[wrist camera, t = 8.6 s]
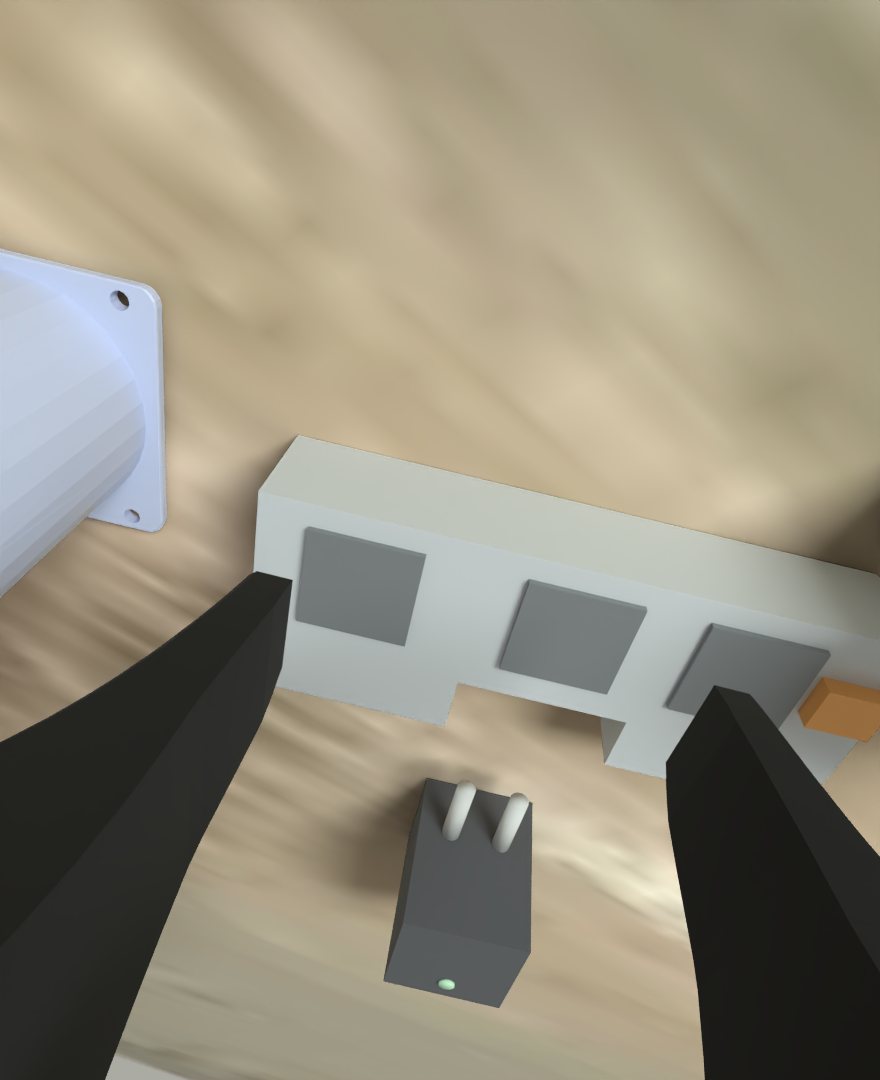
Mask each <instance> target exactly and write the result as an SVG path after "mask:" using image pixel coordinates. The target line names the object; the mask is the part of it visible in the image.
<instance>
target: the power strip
mask: <svg viewBox="0 0 880 1080" xmlns="http://www.w3.org/2000/svg"><path fill="white" fill-rule="evenodd" d="M256 571H259V572H263V573H267V574H271V575H275V576H279V577H283V578H287V579H291V580H293V583H292V591H291V599H290V607H289V615H288V624H287V632H286V640H285V648H284V656H283V665H282V669H281V672H280V675H279V678H278V680H277V683H276V686H275V687H279V688H283V689H288V690H292V691H296V692H300V693H305V694H309V695H313V696H317V697H321V698H326V699H330V700H334V701H338V702H343V703H347V704H351V705H355V706H359V707H364V708H368V709H372V710H376V711H381V712H385V713H389V714H393V715H397V716H402V717H406V718H410V719H414V720H418V721H423V722H427V723H431V724H435V725H440V726H445V723H446V720H447V717H448V713H449V710H450V707H451V704H452V700H453V697H454V694H455V691H456V688H457V684H458V683H461V684H466V685H470V686H474V687H478V688H482V689H487V690H491V691H495V692H499V693H503V694H508V695H512V696H516V697H520V698H525V699H529V700H533V701H537V702H541V703H546V704H550V705H554V706H558V707H562V708H567V709H571V710H575V711H579V712H583V713H588V714H592V715H596V716H600V724H601V734H602V745H603V755H604V765H608V766H613V767H617V768H621V769H625V770H629V771H634V772H638V773H642V774H646V775H651V776H655V777H659V778H663V779H666V761H667V760H668V758H669V756H670V755H671V753H672V752H673V750H674V748H675V747H676V745H677V744H678V742H679V741H680V739H681V737H682V736H683V734H684V733H685V731H686V729H687V728H688V726H689V725H690V723H691V721H692V720H693V718H694V717H695V715H696V713H697V712H698V710H699V709H700V707H701V706H702V704H703V702H704V701H705V699H706V698H707V696H708V694H709V693H710V691H711V690H712V688H713V686H714V685H716V686H720V687H724V688H728V689H732V690H736V691H740V692H744V693H748V694H750V695H751V696H752V697H753V698H754V699H755V701H756V702H757V703H758V704H759V705H760V707H761V708H762V709H763V710H764V712H765V713H766V714H767V715H768V717H769V718H770V719H771V721H772V722H773V723H774V724H775V726H776V727H777V728H778V730H779V731H780V732H781V734H782V735H783V736H784V737H785V739H786V740H787V741H788V743H789V744H790V745H791V747H792V748H793V749H794V751H795V752H796V753H797V754H798V756H799V757H800V758H801V760H802V761H803V762H804V764H805V765H806V766H807V768H808V769H809V770H810V771H811V773H812V774H813V775H814V777H815V778H816V779H817V780H818V782H819V783H820V784H821V785H822V784H823V783H824V782H825V780H826V779H827V778H828V777H829V776H830V774H831V773H832V772H833V771H834V769H835V768H836V767H837V766H838V765H839V763H840V762H841V761H842V760H843V759H844V757H845V756H846V755H847V754H848V753H849V751H850V750H851V749H852V748H853V747H854V745H855V744H856V743H857V742H858V741H859V740H860V741H864V742H867V741H868V740H869V739H870V738H871V737H872V735H873V734H874V733H875V732H876V731H877V730H878V728H879V727H880V578H879V577H878V575H877V574H873V573H869V572H865V571H861V570H857V569H853V568H848V567H844V566H840V565H836V564H832V563H828V562H824V561H819V560H815V559H811V558H807V557H803V556H799V555H794V554H790V553H786V552H782V551H778V550H774V549H770V548H765V547H761V546H757V545H753V544H749V543H745V542H741V541H736V540H732V539H728V538H724V537H720V536H716V535H711V534H707V533H703V532H699V531H695V530H691V529H687V528H682V527H678V526H674V525H670V524H666V523H662V522H657V521H653V520H649V519H645V518H641V517H637V516H633V515H628V514H624V513H620V512H616V511H612V510H608V509H604V508H599V507H595V506H591V505H587V504H583V503H579V502H574V501H570V500H566V499H562V498H558V497H554V496H550V495H545V494H541V493H537V492H533V491H529V490H525V489H520V488H516V487H512V486H508V485H504V484H500V483H496V482H491V481H487V480H483V479H479V478H475V477H471V476H467V475H462V474H458V473H454V472H450V471H446V470H442V469H437V468H433V467H429V466H425V465H421V464H417V463H413V462H408V461H404V460H400V459H396V458H392V457H388V456H383V455H379V454H375V453H371V452H367V451H363V450H359V449H354V448H350V447H346V446H342V445H338V444H334V443H330V442H325V441H321V440H317V439H313V438H309V437H305V436H300V435H298V436H297V437H296V439H295V440H294V441H293V443H292V444H291V446H290V447H289V448H288V450H287V451H286V453H285V454H284V456H283V457H282V458H281V460H280V461H279V463H278V464H277V466H276V467H275V468H274V470H273V471H272V473H271V474H270V475H269V477H268V478H267V480H266V481H265V483H264V484H263V485H262V487H261V488H260V490H259V491H258V506H257V522H256V538H255V554H254V569H253V573H254V572H256Z"/></svg>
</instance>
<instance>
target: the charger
mask: <svg viewBox="0 0 880 1080" xmlns="http://www.w3.org/2000/svg"><path fill="white" fill-rule="evenodd" d="M531 874H532V803H530V802H529V801H528V799H527V797H526V796H525V795H523V794H521V793H514V794H512V795H511V797H510V798H509V797H505V796H500V795H496V794H492V793H488V792H483V791H479V790H476V788H475V786H474V784H473V783H471V782H470V781H466V780H464V781H461V782H459V783H458V785H454V784H450V783H445V782H441V781H437V780H433V779H428V778H427V780H426V784H425V787H424V790H423V793H422V797H421V800H420V803H419V806H418V810H417V813H416V816H415V819H414V823H413V826H412V829H411V832H410V836H409V839H408V845H407V851H406V856H405V862H404V868H403V873H402V879H401V885H400V890H399V896H398V902H397V907H396V913H395V919H394V924H393V930H392V936H391V941H390V947H389V953H388V958H387V964H386V970H385V975H384V981H385V982H389V983H394V984H398V985H402V986H406V987H411V988H415V989H419V990H424V991H428V992H432V993H436V994H441V995H445V996H449V997H454V998H458V999H462V1000H467V1001H471V1002H475V1003H479V1004H484V1005H488V1006H492V1007H497V1008H499V1007H500V1005H501V1004H502V1002H503V1000H504V998H505V997H506V995H507V993H508V991H509V990H510V988H511V986H512V984H513V983H514V981H515V979H516V977H517V976H518V974H519V972H520V970H521V969H522V967H523V965H524V963H525V962H526V960H527V958H528V956H529V955H530V953H531Z"/></svg>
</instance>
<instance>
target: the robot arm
mask: <svg viewBox="0 0 880 1080" xmlns="http://www.w3.org/2000/svg"><path fill="white" fill-rule="evenodd" d="M118 291H121V292H123V293H124V294H125V295H126V296H127V297H128V300H129V307H127V306H125V305H123V304H122V303H121V302H120V301H119V299H118V296H117V293H118ZM130 509H132V510H134V511H136V512H137V513H138V514H139V517H137V516H135V515H134V514H133V513H132V512H131V510H130ZM86 517H89V518H93V519H97V520H101V521H105V522H110V523H114V524H118V525H122V526H126V527H131V528H135V529H139V530H143V531H147V532H156V531H159V530H160V529H161V528H162V526H163V525H164V524H165V523H166V520H167V502H166V460H165V418H164V376H163V334H162V305H161V300H160V297H159V296H158V294H157V292H156V291H155V290H154V289H153V288H151V287H150V286H148V285H146V284H144V283H140V282H136V281H132V280H128V279H124V278H120V277H116V276H111V275H107V274H103V273H99V272H95V271H91V270H87V269H83V268H79V267H74V266H70V265H66V264H62V263H58V262H54V261H50V260H46V259H41V258H37V257H33V256H29V255H25V254H21V253H17V252H13V251H8V250H4V249H0V598H1V597H2V596H3V595H4V594H5V593H6V592H7V591H8V590H9V589H10V588H11V587H12V586H13V585H15V584H16V583H17V582H18V581H19V580H20V579H21V578H22V577H23V576H24V575H25V574H26V573H27V572H28V571H29V570H30V569H32V568H33V567H34V566H35V565H36V564H37V563H38V562H39V561H40V560H41V559H42V558H43V557H44V556H45V555H46V554H48V553H49V552H50V551H51V550H52V549H53V548H54V547H55V546H56V545H57V544H58V543H59V542H60V541H61V540H62V539H63V538H65V537H66V536H67V535H68V534H69V533H70V532H71V531H72V530H73V529H74V528H75V527H76V526H77V525H78V524H79V523H81V522H82V521H83V520H84V519H85V518H86ZM292 583H293V580H291V579H287V578H283V577H279V576H275V575H271V574H267V573H263V572H259V571H256V572H254V573H252V574H250V575H249V576H248V577H247V578H246V579H244V580H243V581H242V582H241V583H240V584H239V585H238V586H236V587H235V588H234V589H233V590H232V591H231V592H229V593H228V594H227V595H226V596H225V597H223V598H222V599H221V600H220V601H219V602H217V603H216V604H215V605H214V606H213V607H211V608H210V609H209V610H208V611H206V612H205V613H204V614H203V615H201V616H200V617H199V618H198V619H196V620H195V621H194V622H192V623H191V624H190V625H188V626H187V627H186V628H184V629H183V630H182V631H181V632H179V633H178V634H177V635H175V636H174V637H173V638H171V639H170V640H169V641H167V642H166V643H165V644H163V645H162V646H161V647H159V648H158V649H156V650H155V651H154V652H152V653H151V654H149V655H148V656H146V657H145V658H143V659H142V660H140V661H139V662H137V663H136V664H134V665H133V666H131V667H130V668H128V669H127V670H126V671H124V672H123V673H121V674H120V675H118V676H117V677H115V678H114V679H112V680H111V681H109V682H107V683H106V684H104V685H103V686H101V687H99V688H98V689H96V690H95V691H93V692H91V693H90V694H88V695H86V696H85V697H83V698H81V699H80V700H78V701H76V702H74V703H73V704H71V705H69V706H68V707H66V708H64V709H62V710H61V711H59V712H57V713H55V714H54V715H52V716H50V717H48V718H46V719H44V720H43V721H41V722H39V723H37V724H35V725H33V726H31V727H29V728H27V729H25V730H23V731H21V732H19V733H17V734H16V735H14V736H12V737H10V738H8V739H6V740H4V741H2V742H0V1080H105V1078H106V1076H107V1073H108V1070H109V1068H110V1065H111V1062H112V1060H113V1057H114V1054H115V1052H116V1049H117V1047H118V1044H119V1041H120V1039H121V1036H122V1033H123V1031H124V1028H125V1025H126V1023H127V1020H128V1017H129V1015H130V1012H131V1010H132V1007H133V1004H134V1002H135V999H136V996H137V994H138V991H139V989H140V986H141V984H142V981H143V979H144V976H145V973H146V971H147V968H148V966H149V963H150V961H151V958H152V956H153V953H154V951H155V948H156V945H157V943H158V940H159V938H160V935H161V933H162V930H163V928H164V925H165V923H166V920H167V918H168V915H169V913H170V910H171V908H172V905H173V903H174V901H175V898H176V896H177V893H178V891H179V888H180V886H181V883H182V881H183V878H184V876H185V873H186V871H187V869H188V866H189V864H190V862H191V860H192V858H193V856H194V853H195V851H196V849H197V847H198V845H199V843H200V841H201V839H202V837H203V835H204V833H205V831H206V829H207V827H208V825H209V823H210V821H211V819H212V817H213V815H214V814H215V812H216V810H217V808H218V806H219V804H220V802H221V800H222V798H223V796H224V794H225V792H226V790H227V788H228V786H229V785H230V783H231V781H232V779H233V777H234V775H235V773H236V771H237V769H238V767H239V765H240V763H241V761H242V759H243V757H244V756H245V754H246V752H247V750H248V748H249V746H250V744H251V742H252V740H253V738H254V736H255V734H256V732H257V730H258V728H259V726H260V724H261V722H262V720H263V717H264V715H265V712H266V709H267V707H268V704H269V702H270V699H271V696H272V694H273V691H274V688H275V686H276V683H277V680H278V678H279V675H280V672H281V669H282V665H283V656H284V648H285V640H286V632H287V624H288V615H289V607H290V599H291V591H292ZM666 789H667V808H668V822H669V828H670V834H671V840H672V846H673V851H674V857H675V863H676V868H677V874H678V879H679V884H680V890H681V895H682V901H683V906H684V911H685V917H686V922H687V928H688V933H689V938H690V944H691V949H692V954H693V960H694V967H695V974H696V981H697V988H698V998H699V1009H700V1021H701V1033H702V1044H703V1056H704V1072H705V1080H880V856H879V855H878V854H877V853H876V852H875V851H874V849H873V848H872V847H871V846H870V845H869V844H868V842H867V841H866V840H865V839H864V838H863V837H862V835H861V834H860V833H859V832H858V830H857V829H856V828H855V827H854V826H853V824H852V823H851V822H850V821H849V820H848V818H847V817H846V816H845V815H844V813H843V812H842V811H841V810H840V808H839V807H838V806H837V805H836V803H835V802H834V801H833V800H832V798H831V797H830V796H829V795H828V793H827V792H826V791H825V789H824V788H823V787H822V786H821V784H820V783H819V782H818V780H817V779H816V778H815V777H814V775H813V774H812V773H811V771H810V770H809V769H808V768H807V766H806V765H805V764H804V762H803V761H802V760H801V758H800V757H799V756H798V754H797V753H796V752H795V751H794V749H793V748H792V747H791V745H790V744H789V743H788V741H787V740H786V739H785V737H784V736H783V735H782V734H781V732H780V731H779V730H778V728H777V727H776V726H775V724H774V723H773V722H772V721H771V719H770V718H769V717H768V715H767V714H766V713H765V712H764V710H763V709H762V708H761V707H760V705H759V704H758V703H757V702H756V701H755V699H754V698H753V697H752V696H751V695H750V694H748V693H744V692H740V691H736V690H732V689H728V688H724V687H720V686H716V685H714V686H713V688H712V690H711V691H710V693H709V694H708V696H707V698H706V699H705V701H704V702H703V704H702V706H701V707H700V709H699V710H698V712H697V713H696V715H695V717H694V718H693V720H692V721H691V723H690V725H689V726H688V728H687V729H686V731H685V733H684V734H683V736H682V737H681V739H680V741H679V742H678V744H677V745H676V747H675V748H674V750H673V752H672V753H671V755H670V756H669V758H668V760H667V761H666Z"/></svg>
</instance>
